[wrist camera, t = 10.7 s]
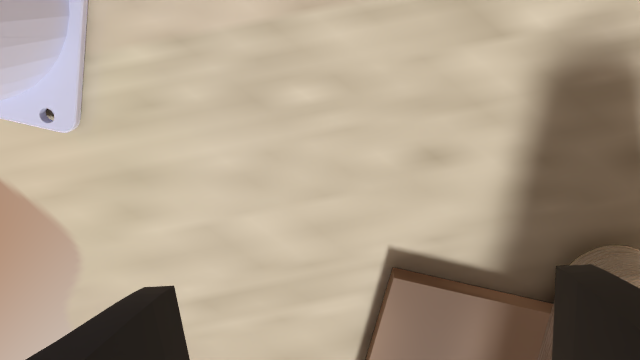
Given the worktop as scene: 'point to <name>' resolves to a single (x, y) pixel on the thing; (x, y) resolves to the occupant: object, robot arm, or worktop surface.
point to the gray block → (613, 259)
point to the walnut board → (455, 322)
